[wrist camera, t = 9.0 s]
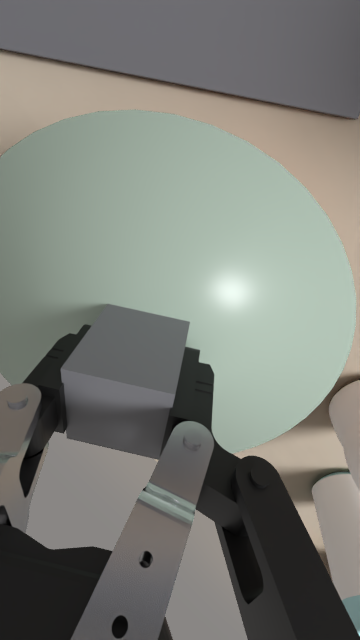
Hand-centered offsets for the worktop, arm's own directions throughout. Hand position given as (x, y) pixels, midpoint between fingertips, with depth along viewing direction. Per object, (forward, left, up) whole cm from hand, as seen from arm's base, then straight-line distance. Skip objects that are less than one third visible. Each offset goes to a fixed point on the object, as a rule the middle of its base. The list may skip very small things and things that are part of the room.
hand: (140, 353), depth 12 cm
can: (+22, +23, -11) cm, 34 cm away
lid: (0, 0, -2) cm, 2 cm away
